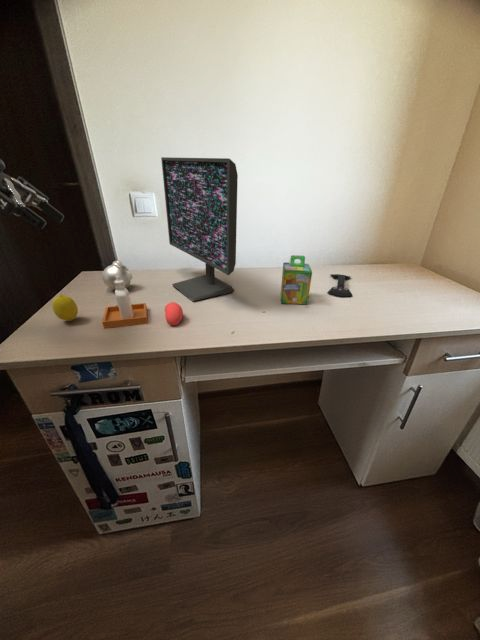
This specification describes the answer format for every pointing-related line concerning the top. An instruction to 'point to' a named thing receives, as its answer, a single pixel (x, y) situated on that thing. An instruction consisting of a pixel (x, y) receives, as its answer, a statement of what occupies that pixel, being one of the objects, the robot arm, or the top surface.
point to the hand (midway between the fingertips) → (53, 222)
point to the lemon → (65, 307)
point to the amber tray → (115, 320)
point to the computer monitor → (202, 218)
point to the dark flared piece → (340, 286)
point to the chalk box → (296, 281)
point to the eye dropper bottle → (123, 299)
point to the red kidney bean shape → (173, 313)
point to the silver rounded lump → (116, 274)
